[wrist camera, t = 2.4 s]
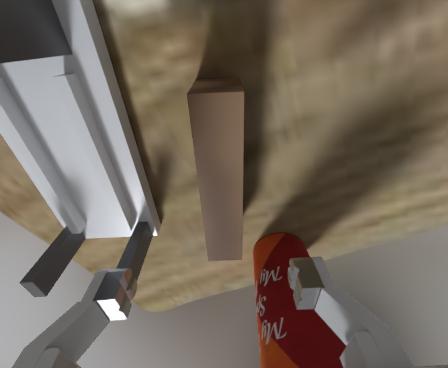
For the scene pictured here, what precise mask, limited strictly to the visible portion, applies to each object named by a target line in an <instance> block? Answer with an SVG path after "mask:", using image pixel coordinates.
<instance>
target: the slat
mask: <svg viewBox="0 0 448 368" xmlns="http://www.w3.org/2000/svg"><path fill="white" fill-rule="evenodd" d="M187 99H188V106H189V114H190V122H191V130H192V137H193V145H194V153H195V161H196V168H197V176H198V184H199V192H200V199H201V207H202V215H203V223H204V230H205V238H206V246H207V254H208V261H217V260H242V231H243V154H244V90H243V87H242V84H241V82H240V79H239V77H232V78H209V79H196V80H195V82H194V84H193V85H192V87H191V88H190V90H189V92H188V93H187Z"/></svg>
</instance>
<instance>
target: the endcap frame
mask: <svg viewBox="0 0 448 368" xmlns="http://www.w3.org/2000/svg"><path fill="white" fill-rule="evenodd" d="M0 133H1V135H2V136H3V138H4V139H5V141H6V142H7V144H8V145H9V147H10V148H11V150H12V151H13V153H14V154H15V156H16V157H17V159H18V160H19V162H20V163H21V165H22V166H23V168H24V169H25V171H26V172H27V174H28V175H29V177H30V178H31V180H32V181H33V183H34V184H35V186H36V187H37V189H38V190H39V192H40V193H41V194H42V196H43V197H44V199H45V200H46V202H47V203H48V205H49V206H50V208H51V209H52V211H53V212H54V214H55V215H56V217H57V218H58V220H59V221H60V223H61V224H62V226H63V227H64V229H63V231H62V232H61V233H60V234H59V235H58V237H57V238H56V239H55V240H54V241H53V243H52V244H51V245H50V246H49V248H48V249H47V250H46V251H45V252H44V254H43V255H42V256H41V257H40V259H39V260H38V261H37V262H36V263H35V265H34V266H33V267H32V268H31V269H30V271H29V272H28V273H27V274H26V276H25V277H24V278H23V279H22V280H21V282H20V284H21V285H22V286H23V287H24V288H26V289H27V290H28V291H29V292H30V293H31V294H32V295H33V296H34V297H42V296H43V297H44V296H47V295H48V293H49V292H50V290H51V289H52V287H53V286H54V284H55V283H56V281H57V280H58V278H59V277H60V276H61V274H62V273H63V271H64V270H65V268H66V267H67V265H68V264H69V262H70V261H71V259H72V258H73V256H74V255H75V253H76V252H77V250H78V249H79V247H80V246H81V245H82V243H83V242H84V240H85V239H86V238H109V237H131V238H130V240H129V242H128V244H127V246H126V248H125V251H124V253H123V255H122V257H121V259H120V262H119V264H118V266H117V268H116V269H121V268H131V270H132V276H134V277H135V278H136V281H137V279H138V276H139V274H140V271H141V268H142V265H143V262H144V259H145V256H146V254H147V251H148V248H149V245H150V242H151V239H152V236H158V233H159V230H160V227H161V223H160V220H159V217H158V213H157V210H156V207H155V203H154V200H153V197H152V194H151V190H150V187H149V184H148V181H147V177H146V174H145V171H144V167H143V164H142V161H141V158H140V154H139V151H138V148H137V145H136V141H135V138H134V135H133V132H132V128H131V125H130V122H129V118H128V115H127V112H126V109H125V105H124V102H123V99H122V96H121V92H120V89H119V86H118V83H117V79H116V76H115V73H114V69H113V66H112V63H111V60H110V56H109V53H108V50H107V47H106V43H105V40H104V37H103V34H102V30H101V27H100V24H99V20H98V17H97V14H96V11H95V7H94V4H93V1H92V0H0Z"/></svg>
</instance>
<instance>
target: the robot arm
mask: <svg viewBox="0 0 448 368" xmlns="http://www.w3.org/2000/svg"><path fill="white" fill-rule="evenodd" d="M289 264H290V267H289V268H288V281H289V285H290V288H291V289H293V290H294V293H293V298H294V301H295V305H296V308H297V310H302V309H315V311H316V312H317V313H318V315H319V316H320V317H321V318H322V319H323V320H324V321H325V322H326V324H327V325H328V326H329V327H330V328H331V329H332V330H333V331H334V332H335V334H336V335H337V336H338V337H339V338H340V339H341V340H342V341H343V343H344V344H345V345H346V348H345V349H344V351H343V353H342V354H341V356H340V360H341V363H342V365H343V368H448V365H435V366H416V367H414V365H413V364H412V362H411V360H410V359H409V357H408V356H407V354H406V352H405V351H404V349H403V347H402V346H401V344H400V342H399V341H398V339H397V337H396V336H395V334H394V333H393V331H392V329H391V328H390V327H389V326H387V325H386V324H385V323H384V322H382V321H381V320H380V319H379V318H378V317H376V316H375V315H374V314H372V313H371V312H370V311H369V310H368V309H366V308H365V307H364V306H363V305H361V304H360V303H359V302H358V301H356V300H355V299H354V298H352V297H351V296H350V295H349V294H348V293H347V292H345V291H344V290H343V289H342V288H340V287H336V285H335V283H334V281H333V279H332V277H331V275H330V273H329V271H328V269H327V266H326V264H325V262H324V260H323V259H322V258H321V257H303V258H291V259H290V261H289ZM136 289H137V281H136V278H135V277H134V276H132V270H131V268H121V269H99V270H98V271H97V272H96V274H95V276H94V278H93V280H92V282H91V283H90V285H89V287H88V289H87V291H86V293H85V295H84V297H83V299H82V301H81V302H77V303H76V304H75V305H74V306H73V307H71V308H70V309H69V310H68V311H67V312H66V313H65V314H63V315H62V316H61V317H60V318H59V319H58V320H56V321H55V322H54V323H53V324H52V325H51V326H49V327H48V328H47V329H46V330H45V331H44V332H43V333H42V334H40V335H39V336H38V337H37V338H36V339H34V340H33V341H32V342H31V343H30V344H29V345H27V346H26V347H25V348H24V349H23V351H22V352H21V354H20V356H19V357H18V359H17V360H16V362H15V364H14V365H13V367H12V368H81V367H80V366H79V365H78V364H76V362H77V361H78V359H79V358H80V357H81V356H82V355H83V353H84V352H85V351H86V350H87V349H88V348H89V346H90V345H91V344H92V343H93V341H94V340H95V339H96V338H97V337H98V336H99V334H100V333H101V332H102V331H103V329H104V328H105V327H106V326H107V324H108V323H109V322H110V321H112V320H124V319H127V318H128V315H129V312H130V308H131V306H132V305H131V302H130V300H131V299H132V298H133V297H134V296H135V293H136Z"/></svg>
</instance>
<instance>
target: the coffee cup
mask: <svg viewBox="0 0 448 368" xmlns="http://www.w3.org/2000/svg"><path fill="white" fill-rule="evenodd" d="M303 257H310V256H309V254H308V252H307V250H306V248H305V246H304V244H303V242H302V241H301V240H300V239H299V238H298V237H297V236H295V235H293V234H289V233H274V234H270V235H267V236H265V237H263V238H262V239H260V240H259V241H258V242H257V243H256V245H255V246H254V250H253V260H254V278H255V292H256V307H257V322H258V334H259V335H258V336H259V350H260V363H261V368H343V365H342V363H341V360H340V356H341V354H342V353H343V351H344V349H345V348H346V345H345V344H344V343H343V341H342V340H341V339H340V338H339V337H338V336H337V335H336V334H335V332H334V331H333V330H332V329H331V328H330V327H329V326H328V325H327V324H326V322H325V321H324V320H323V319H322V318H321V317H320V316H319V315H318V313H317V312H316V311H315V309H302V310H297V308H296V305H295V301H294V298H293V293H294V290H293V289H291V288H290V285H289V281H288V268H289V267H290V264H289V261H290V259H291V258H303Z"/></svg>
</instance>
